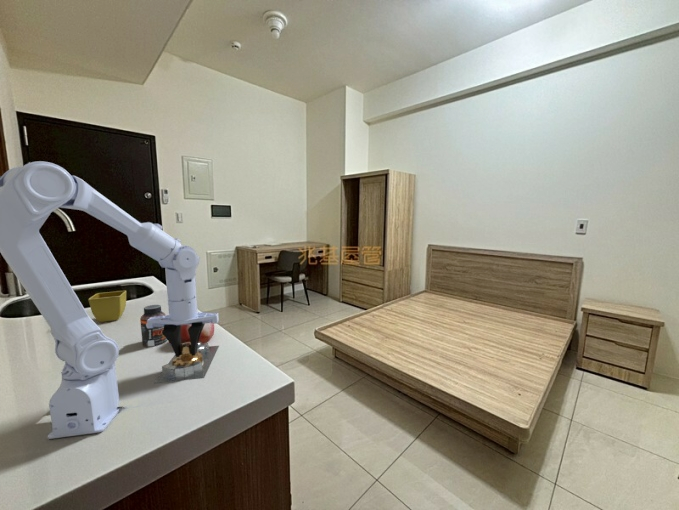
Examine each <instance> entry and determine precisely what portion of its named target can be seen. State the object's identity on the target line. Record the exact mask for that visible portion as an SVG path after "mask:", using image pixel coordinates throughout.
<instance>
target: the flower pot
mask: <svg viewBox="0 0 679 510" xmlns="http://www.w3.org/2000/svg"><path fill="white" fill-rule="evenodd" d="M88 303H89V307H90V310H91V313H92V315H93V316H94V319H96V320H97V321H99V322H100V323H103V322H104V323H105V322H111V321H112V322H113V321H118V320H120V318H121V317H122V316H123V314H124V313H125V309H126V305H127V290H116V291H109V292H108V291H107V292H97V293H95V294H94V295H92V296H90V297H89V298H88Z"/></svg>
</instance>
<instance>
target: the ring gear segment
mask: <svg viewBox="0 0 679 510" xmlns="http://www.w3.org/2000/svg"><path fill="white" fill-rule="evenodd" d="M202 372H203V370H202V362H200V361H198V362H195V363H192V364H189V365H184V366H171V365H169V364H168V363H166V364H164V365H161V373H162V374H163V377H165V378H167V379H184V378H189V377H192V376H195V375H198V374H200V373H202Z"/></svg>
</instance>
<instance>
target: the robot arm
mask: <svg viewBox="0 0 679 510" xmlns="http://www.w3.org/2000/svg"><path fill="white" fill-rule="evenodd" d="M58 208H61V209H69V210H70V209H71V210H77V211H78V210H79V211H83V212H85V213H87V214H88V215H90V216H92V217H94V218H96V219H97V220H100V221H101V222H103V223H104V224H106V225H108V226H110V227H112V228H113V229H115V230H117V231H118V232H121V233H123V234H124V235H126V236H127V239H128V242H129V245H130V246H131V247H132V248H135V249H136V250H138V251H139V252H142V253H143V254H145V255H146V256H148V257H149V258H150V259H151V258H152V259H153V260H154V261H157V262H158V264H159V265H160V267H161V268H162V269H163V268H165V281H166V292H167V305H168V307H167V308H168V314H167V315H166V314H165V316H159V317H151V318H149V319H148V320H147V326H148V328H154V327H161V326H164V330H163V331H162V334H163V335H164V336H165V337H166V339H167V342H169V344H170V346H171V348H172V350H173V352H174V355H176V357H179V356H180V345H181V344H182V343H181V325H189V324H191V326H190V327H189V329H188V332H189V336H190V341H191V354H192V356H194V355H196V353H197V348H198V342H199V338H200V335H201V332H202V329H203V327H204V325H205V323H212V324H214V325H216V324H218V323H219V321H220V320H219V319H220V317H219V312H198V301H197V286H196V285H197V284H196V274H197V273H196V270H197V267H198V266H199V264H200V261H201V260H200V259H201V257H199V256H198V255H197V252H196V250H195V249H194V248H193V247H191V246H188V245H182V243H181V242H182V240H181V239H179V238H178V237H177V238H176V237H175V238H174V237H173V236H171V235H169V234H168V233H167V232H165V231H164V230H162V229H163V226H162V225H161V224H159V223H153V222H150V221H147V222H141V221H139V220H137V219H136V218H134V217H133V216H131V215H130V214H129V213H127V212H126V211H125V210H123V209H122V208H120V207H119V206H118V205H117V204H115V203H114V202H112V201H111V200H110V199H108V198H107V197H106V196H104V195H103V194H101V193H100V192H99V191H97V189H95V188H94V187H92V186H91V185H90V184H89V183H87V182H86V181H84V180H83V179H82V178H80V177H78V176H76V175H74V174H73V175H71V174H70V173H69V172H68V171H67V170H66V169H65V168H64V167H62V166H60V165H59V164H55V163H53V162H48V161H41V160H39V161H32V162H31V161H30V162H29V163H26V164H24V165H23V166H16V167H15V166H14V167H12V168H10V169H8V170H6V171H5V172H4V173H3V174H2V175H1V176H0V254H1V256H2V257H3V259H4V260H5V262H6V263H7V265H8V266H9V268H10V269H11V270H12V273H13V274H14V275H15V276H16V279H18V281H19V283H20V285H22V287H23V289H24V290H25V292H26V294H27V295H28V297H29V298H30V299H31V301H32V302H33V304H34V305H35V307H36V309H37V310H38V311H39V313H40V314H41V316H42V318H43V319H44V320H45V322H46V324H47V325H48V327H49V328H50V334H51V336H52V337H53V340H54V345H55V346H54V353H55V356H56V357H57V358H58V359H59V360H60V361H62V362H64V363H65V364H64V365H63V367H62V371H61V372H60V373H61V382H60V385H59V387H58V388H57V390H56V391H55V392H54V393H53V394H52V396H50V398H49V403H48V408H49V413H50V421H51V426H52V427H51V428H52V431H51V432H50V433H49V434H48V435H47V439H50V440H52V439H59V438H65V437H73V436H82V435H90V434H96V433H101V432H103V431H105V429H106V428H107V427H108V426H109V424H110V423H111V422H112V421H113V420H114V418H115V417H116V416H117V415H118V413H119V412H120V411H121V409H123V406H119V405H120V394H119V387H118V385H119V384H118V376H117V370H116V369H117V368H116V361H117V360H118V358H119V353H120V347H119V344H118V343H117V342H116V340H114V339H112V338H110V337H108V336H106V335H105V334H104V332H103V331H102V329H101V327H100V326H99V325H98V324H97V323H96V322H95V321H94V320H93V319H92V318H91V317H90V316H89V314H88V313H87V311H86V309H85V307H84V306H83V304H82V302H81V301H80V299H79V297H78V295H77V294H76V292H75V290H74V289H73V287H72V286H71V284H70V282H69V280H68V279H67V277H66V274H64V272H63V270H62V269H61V267H60V265H59V263H58V262H57V260H56V259H55V257H54V255H53V253H52V252H51V249H50V248H49V246H48V245H47V243H46V241H45V240H44V238H43V236H42V235H41V233H40V229H41V228H42V226H43V225H44V224H45V222H46V221H47V219H48V218H49V216H51V213H53V212H55V210H57V209H58Z"/></svg>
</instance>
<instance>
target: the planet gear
mask: <svg viewBox="0 0 679 510" xmlns="http://www.w3.org/2000/svg"><path fill="white" fill-rule="evenodd" d="M198 361H200V362H202V363H203V356H202V355H201V353H199V352H197V353H196V355H194V356H192V354H191V342H185V343H181V345H180V356H179V357H177V359H173V361H172V365H173V366H184V365H189V364H192V363H195V362H198Z"/></svg>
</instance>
